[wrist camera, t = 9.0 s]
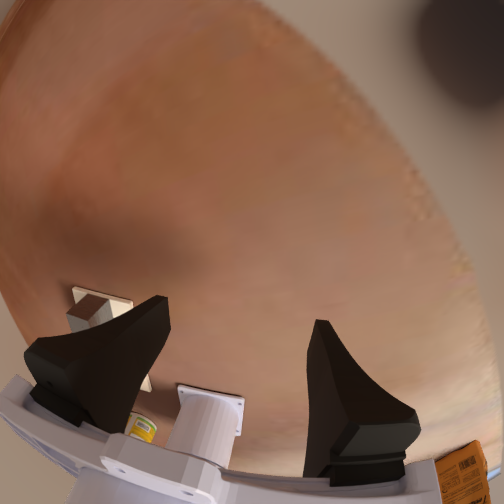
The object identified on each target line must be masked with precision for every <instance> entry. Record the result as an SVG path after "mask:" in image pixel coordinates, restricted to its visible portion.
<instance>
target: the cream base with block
mask: <svg viewBox="0 0 504 504" xmlns="http://www.w3.org/2000/svg"><path fill="white" fill-rule="evenodd" d="M72 291H73V295H74V299H75V303H76V304H75V305H74V306H73V307H72V308H71V309H70V310H69V311H68V312H67V313H66V316H67V319H68V322H69V325H70V328H71V331H72V333H75V332H79V331H82V330H85V329H89V328H92V327H95V326H97V325H100V324H102V323H105V322H107V321H109V320H111V319H113V318H115V317H117V316H119V315H121V314H123V313H125V312H127V311H129V310H131V309H132V308H133V302H132V301H131V300H126V299H122V298H118V297H114V296H110V295H106V294H102V293H98V292H94V291H91V290H87V289H83V288H80V287H76V286H75V287H73V288H72ZM140 389H141V390H144V391H147V392H151V390H152V388H151V384H150V380H149V377H148V374H147V375H146V377H145V379H144V381H143V383H142V385H141V388H140Z"/></svg>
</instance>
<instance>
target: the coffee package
mask: <svg viewBox="0 0 504 504" xmlns="http://www.w3.org/2000/svg"><path fill="white" fill-rule="evenodd" d="M434 464H435V468H436V473H437V478H438V482H439V488H440V493H441V499H442V504H491V501H490V495H489V486H488V482H487V461H486V459H485V456H484V453H483V451H482V448H481V445H480V442H479V441H477V440H475V441H473V442H472V443H470V444H469V445H467V446H466V447H465V448H463V449H461V450H457V451H454V452H452V453H450V454H449V455H447V456H445V457H444V458H442V459H440V460H439V461H437V462H435V463H434Z"/></svg>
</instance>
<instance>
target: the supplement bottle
mask: <svg viewBox="0 0 504 504" xmlns="http://www.w3.org/2000/svg"><path fill="white" fill-rule="evenodd" d="M155 432H156V425H155V424H154V423H153V422H152V421H151V420H150V419H148V418H147V417H145V416H143V415H141V414H138V413H133V412H131V413H130V416H129V419H128V422H127V425H126V429H125V433H124V434H126V435H129V436H132V437H135V438H137V439H140V440H143V441H146V442H149V443H151V441H152V439H153V436H154V434H155Z"/></svg>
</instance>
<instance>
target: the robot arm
mask: <svg viewBox="0 0 504 504" xmlns="http://www.w3.org/2000/svg"><path fill="white" fill-rule="evenodd" d="M170 330H171V326H170V316H169V306H168V297H164V296H159V295H156V296H154V297H152V298H150V299H148V300H146V301H145V302H143V303H141V304H139V305H138V306H136V307H134V308H132V309H131V310H129V311H127V312H125V313H123V314H121V315H119V316H117V317H115V318H113V319H111V320H109V321H107V322H105V323H102V324H100V325H97V326H95V327H92V328H89V329H85V330H82V331H79V332H75V333H71V334H66V335H60V336H53V337H42V338H37V339H36V341H35V342H34V343H33V344H32V345H31V346H30V347H29V348H28V349H27V350H26V351H25V352H24V360H25V362H26V365H27V367H28V368H29V370H30V372H31V374H32V375H33V377H34V379H35V380H36V382H37V384H36V385H35V387H33V386H32V385H31V384H30V383H29V382H28V381H26V380H25V379H23V378H22V377H21V376H19V375H17V374H16V375H15V376H14V377H13V378H12V380H11V381H10V382H9V383H8V384H7V385H6V387H5V388H4V389H3V390H2V391H1V393H0V416H1V417H2V418H3V420H4V421H5V422H6V423H7V424H8V425H9V427H10V428H11V429H12V430H13V431H14V432H15V433H16V434H17V435H18V436H19V437H21V438H22V439H23V440H24V441H26V442H27V443H28V444H29V445H31V446H32V447H33V448H34V449H36V450H37V451H38V452H40V453H41V454H42V455H44V456H45V457H46V458H48V459H49V460H50V461H52V462H53V463H55V464H56V465H58V466H59V467H60V468H62V469H63V470H65V471H66V472H68V473H69V474H71V475H73V476H74V477H76V478H77V480H76V482H75V483H74V485H73V487H72V489H71V491H70V493H69V495H68V497H67V499H66V501H65V503H64V504H442V499H441V493H440V488H439V482H438V478H437V473H436V468H435V464H434V459H428V460H423V461H418V462H413V463H410V464H407V465H405V466H404V462H403V460H404V459H405V458H406V453H405V450H406V449H407V448H408V447H409V446H410V445H411V444H412V443H413V442H414V441H415V440H416V438H417V437H418V436H419V434H420V432H421V427H420V423H419V419H418V416H417V414H416V411H415V409H413V408H411V407H410V406H408V405H406V404H404V403H403V402H401V401H399V400H398V399H396V398H395V397H393V396H392V395H390V394H389V393H388V392H386V391H385V390H384V389H383V388H381V387H380V386H379V385H378V384H377V383H376V382H374V381H373V380H372V379H371V378H370V377H369V376H368V375H367V374H366V373H365V372H364V371H363V370H362V368H361V367H360V366H359V365H358V364H357V363H356V361H355V360H354V359H353V358H352V356H351V355H350V353H349V352H348V351H347V349H346V348H345V346H344V345H343V343H342V342H341V340H340V339H339V337H338V335H337V334H336V332H335V330H334V329H333V327H332V325H331V324H330V322H329V321H327V320H318V319H316V321H315V325H314V328H313V332H312V336H311V340H310V343H309V347H308V351H307V382H308V396H309V426H308V438H307V449H306V457H305V465H304V471H303V478H301V477H283V476H271V475H262V474H254V473H246V472H240V471H234V470H228V464H229V460H230V456H231V451H232V447H233V443H234V438H235V436H240V435H241V428H242V419H243V410H244V401H245V400H244V398H242V397H238V396H232V395H226V394H221V393H216V392H211V391H206V390H202V389H197V388H193V387H188V386H184V385H179V386H178V388H177V389H178V394H179V400H180V405H181V409H180V411H179V414H178V416H177V419H176V421H175V424H174V426H173V429H172V431H171V434H170V436H169V439H168V441H167V444H166V446H165V448H164V447H161V446H158V445H155V444H152V443H149V442H146V441H143V440H140V439H137V438H135V437H132V436H129V435H126V434H124V433H125V429H126V425H127V422H128V419H129V416H130V413H131V410H132V408H133V405H134V402H135V400H136V397H137V395H138V392H139V390H140V388H141V385H142V383H143V381H144V379H145V377H146V375H147V374H148V372H149V370H150V369H151V367H152V365H153V364H154V362H155V360H156V359H157V357H158V355H159V353H160V352H161V350H162V348H163V347H164V345H165V342H166V340H167V338H168V335H169V333H170Z"/></svg>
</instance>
